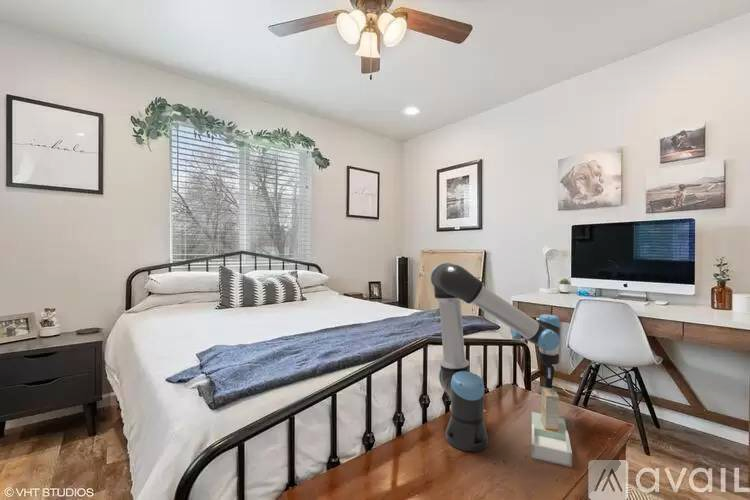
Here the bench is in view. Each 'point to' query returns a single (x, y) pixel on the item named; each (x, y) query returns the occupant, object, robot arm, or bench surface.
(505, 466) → the bench surface
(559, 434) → the board
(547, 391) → the supplement box
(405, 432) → the bench surface
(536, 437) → the tray
